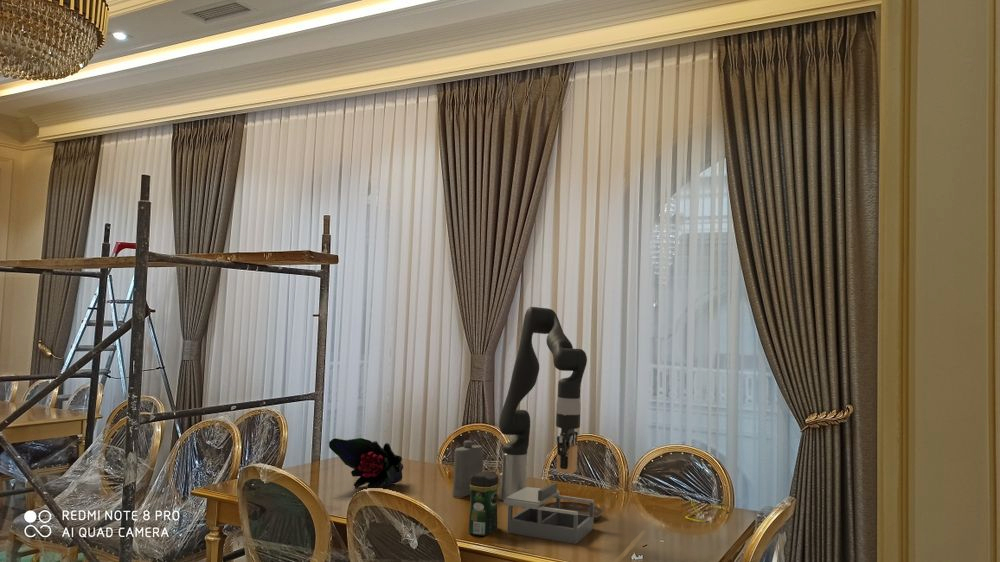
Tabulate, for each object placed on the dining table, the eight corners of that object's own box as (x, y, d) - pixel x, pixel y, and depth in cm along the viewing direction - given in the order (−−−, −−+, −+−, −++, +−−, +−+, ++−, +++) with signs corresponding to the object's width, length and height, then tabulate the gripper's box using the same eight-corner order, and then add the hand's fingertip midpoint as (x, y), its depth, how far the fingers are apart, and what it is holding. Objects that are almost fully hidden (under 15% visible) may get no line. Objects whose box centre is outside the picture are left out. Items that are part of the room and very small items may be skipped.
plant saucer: (604, 513, 245) (605, 504, 245) (601, 529, 225) (601, 519, 225) (546, 508, 249) (547, 498, 249) (538, 523, 229) (538, 513, 229)
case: (507, 535, 213) (508, 502, 214) (528, 521, 229) (529, 491, 230) (576, 547, 204) (577, 512, 205) (593, 531, 221) (594, 499, 221)
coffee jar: (478, 527, 221) (480, 468, 223) (500, 530, 218) (502, 470, 219) (463, 534, 213) (466, 473, 214) (487, 538, 209) (489, 476, 211)
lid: (503, 503, 213) (504, 488, 214) (527, 491, 231) (528, 477, 232) (538, 508, 209) (538, 493, 209) (559, 495, 227) (559, 481, 227)
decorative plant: (399, 509, 275) (358, 504, 249) (354, 475, 287) (311, 467, 261) (426, 463, 277) (388, 453, 251) (381, 431, 290) (340, 418, 264)
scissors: (702, 526, 235) (703, 511, 235) (675, 518, 241) (676, 504, 241) (731, 513, 254) (732, 500, 254) (705, 506, 260) (706, 493, 260)
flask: (472, 489, 273) (474, 438, 275) (484, 492, 270) (486, 439, 272) (448, 496, 261) (450, 442, 262) (460, 498, 258) (462, 444, 259)
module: (556, 471, 215) (557, 445, 216) (561, 469, 220) (562, 443, 220) (571, 473, 213) (572, 447, 214) (576, 471, 218) (577, 445, 218)
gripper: (564, 409, 226) (562, 462, 225) (549, 413, 213) (547, 469, 212) (586, 411, 223) (584, 464, 222) (572, 415, 210) (571, 472, 209)
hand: (566, 466), depth 217 cm, fingers closed on module, 5 cm apart
